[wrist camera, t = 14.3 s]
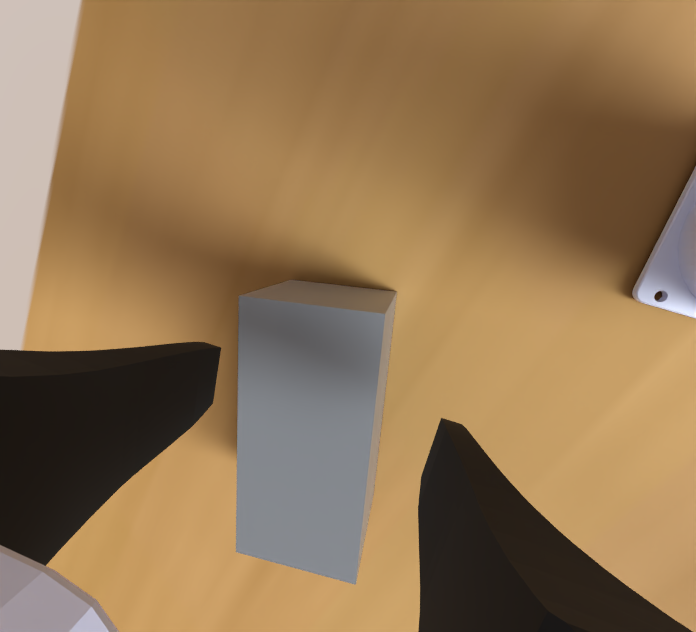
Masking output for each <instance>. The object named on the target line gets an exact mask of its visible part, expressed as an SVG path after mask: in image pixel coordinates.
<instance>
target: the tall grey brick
mask: <svg viewBox="0 0 696 632" xmlns="http://www.w3.org/2000/svg"><path fill="white" fill-rule="evenodd" d="M396 295H397V292H396V291H387V290H378V289H369V288H360V287H352V286H343V285H334V284H325V283H316V282H307V281H298V280H288V281H285V282H282V283H279V284H275V285H272V286H269V287H266V288H262V289H259V290H256V291H252V292H249V293H246V294H243V295H239V324H238V417H237V510H236V552H238V553H241V554H245V555H249V556H252V557H256V558H260V559H264V560H267V561H271V562H275V563H278V564H282V565H286V566H289V567H293V568H297V569H300V570H304V571H308V572H311V573H315V574H319V575H322V576H326V577H330V578H333V579H337V580H341V581H344V582H348V583H352V584H356V581H357V576H358V571H359V566H360V560H361V555H362V550H363V545H364V540H365V535H366V530H367V525H368V520H369V515H370V510H371V505H372V500H373V495H374V486H375V477H376V469H377V460H378V451H379V443H380V434H381V425H382V417H383V408H384V399H385V391H386V382H387V373H388V365H389V356H390V347H391V339H392V330H393V321H394V313H395V304H396Z"/></svg>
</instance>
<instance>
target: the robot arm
mask: <svg viewBox="0 0 696 632" xmlns="http://www.w3.org/2000/svg"><path fill="white" fill-rule="evenodd" d="M658 291H661V292H662V297H661V298H660V299H659V300H655V299H654V296H655V294H656V293H657V292H658ZM632 294H633V297H634V299H635V300H636V301H638V302H641V303H644V304H648V305H651V306H655V307H658V308H662V309H665V310H668V311H672V312H675V313H679V314H682V315H686V316H689V317H692V318H696V167H695V169H694V171H693V172H692V174H691V176H690V178H689V180H688V182H687V184H686V186H685V188H684V190H683V192H682V194H681V196H680V198H679V200H678V202H677V204H676V206H675V208H674V210H673V212H672V214H671V216H670V218H669V220H668V222H667V223H666V225H665V227H664V229H663V231H662V233H661V235H660V237H659V239H658V241H657V243H656V245H655V247H654V249H653V251H652V253H651V255H650V257H649V259H648V261H647V263H646V265H645V267H644V269H643V271H642V273H641V275H640V276H639V278H638V280H637V282H636V284H635V286H634V288H633V292H632ZM220 351H221V348H220V347H217V346H214V345H211V344H208V343H205V342H186V343H174V344H164V345H155V346H145V347H135V348H122V349H110V350H96V351H60V352H46V351H18V350H0V632H119V631H118V630H117V628H116V627H115V625H114V624H113V622H112V621H111V620H110V618H109V617H108V615H107V614H106V613H105V611H104V610H103V608H102V607H101V606H100V604H99V603H98V601H97V600H96V599H94V598H93V597H91V596H90V595H89V594H87V593H86V592H84V591H83V590H82V589H80V588H79V587H77V586H76V585H75V584H73V583H72V582H70V581H69V580H68V579H66V578H65V577H63V576H62V575H60V574H59V573H58V572H56V571H55V570H53V569H51V568H49V567H46V565H47V563H48V562H49V561H50V560H51V559H52V558H53V557H54V556H55V554H56V553H57V552H58V551H59V550H60V549H61V548H62V547H63V546H64V545H65V544H66V543H67V542H68V540H69V539H70V538H71V537H72V536H73V535H74V534H75V533H76V532H77V531H78V530H79V529H80V528H81V527H82V526H83V525H84V523H85V522H86V521H87V520H88V519H89V518H90V517H91V516H92V515H93V514H94V513H95V512H96V511H97V510H98V509H99V508H100V507H101V506H102V505H103V504H104V503H105V502H106V501H107V500H108V499H109V498H110V497H111V496H112V495H113V494H114V493H115V492H116V491H117V490H118V489H119V488H120V487H121V486H122V485H123V484H124V483H126V482H127V481H128V480H129V479H130V478H131V477H132V476H133V475H135V474H136V473H137V472H138V471H139V470H141V469H142V468H143V467H144V466H145V465H147V464H148V463H149V462H150V461H151V460H153V459H154V458H155V457H156V456H157V455H159V454H160V453H161V452H162V451H163V450H165V449H166V448H167V447H168V446H170V445H171V444H172V443H173V442H174V441H176V440H177V439H178V438H179V437H180V436H181V435H183V434H184V433H185V432H186V431H187V430H188V429H190V428H191V427H192V426H193V425H194V424H195V423H196V422H197V421H198V420H199V418H200V417H201V416H202V415H203V414H204V413H205V412H206V411H207V409H208V408H209V407H210V406H211V405H212V404H213V399H214V392H215V385H216V378H217V371H218V365H219V358H220ZM418 519H419V558H420V619H419V632H692V631H691V630H689V629H688V628H686V627H685V626H683V625H682V624H680V623H679V622H677V621H675V620H674V619H673V618H671V617H670V616H668V615H667V614H665V613H664V612H662V611H661V610H660V609H658V608H657V607H656V606H654V605H653V604H651V603H650V602H649V601H647V600H646V599H644V598H643V597H642V596H640V595H639V594H637V593H636V592H635V591H633V590H632V589H630V588H629V587H628V586H626V585H625V584H624V583H622V582H621V581H620V580H618V579H617V578H616V577H614V576H613V575H612V574H611V573H609V572H608V571H607V570H605V569H604V568H603V567H601V566H600V565H599V564H598V563H597V562H595V561H594V560H593V559H592V558H590V557H589V556H588V555H587V554H586V553H584V552H583V551H582V550H581V549H579V548H578V547H577V546H576V545H575V544H573V543H572V542H571V541H570V540H569V539H568V538H566V537H565V536H564V535H563V534H562V533H561V532H560V531H558V530H557V529H556V528H555V527H554V526H553V525H552V524H551V523H550V522H549V521H548V520H547V519H546V518H545V517H544V516H542V515H541V514H540V513H539V512H538V511H537V510H536V509H535V508H534V507H533V506H532V505H531V504H530V503H529V502H528V501H527V500H526V499H525V498H524V497H523V496H522V495H521V494H520V492H519V491H518V490H517V489H516V488H515V487H514V486H513V485H512V484H511V483H510V482H509V480H508V479H507V478H506V477H505V476H504V475H503V474H502V472H501V471H500V470H499V469H498V468H497V466H496V465H495V464H494V463H493V462H492V460H491V459H490V458H489V457H488V455H487V454H486V453H485V452H484V450H483V449H482V448H481V447H480V445H479V444H478V443H477V442H476V440H475V439H474V438H473V436H472V435H471V434H470V433H469V431H468V430H467V429H466V428H465V427H464V426H463V425H462V424H459V423H456V422H452V421H449V420H446V419H443V418H441V421H440V423H439V426H438V429H437V432H436V435H435V438H434V441H433V444H432V447H431V450H430V453H429V456H428V458H427V461H426V464H425V467H424V470H423V473H422V477H421V486H420V495H419V505H418Z"/></svg>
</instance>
